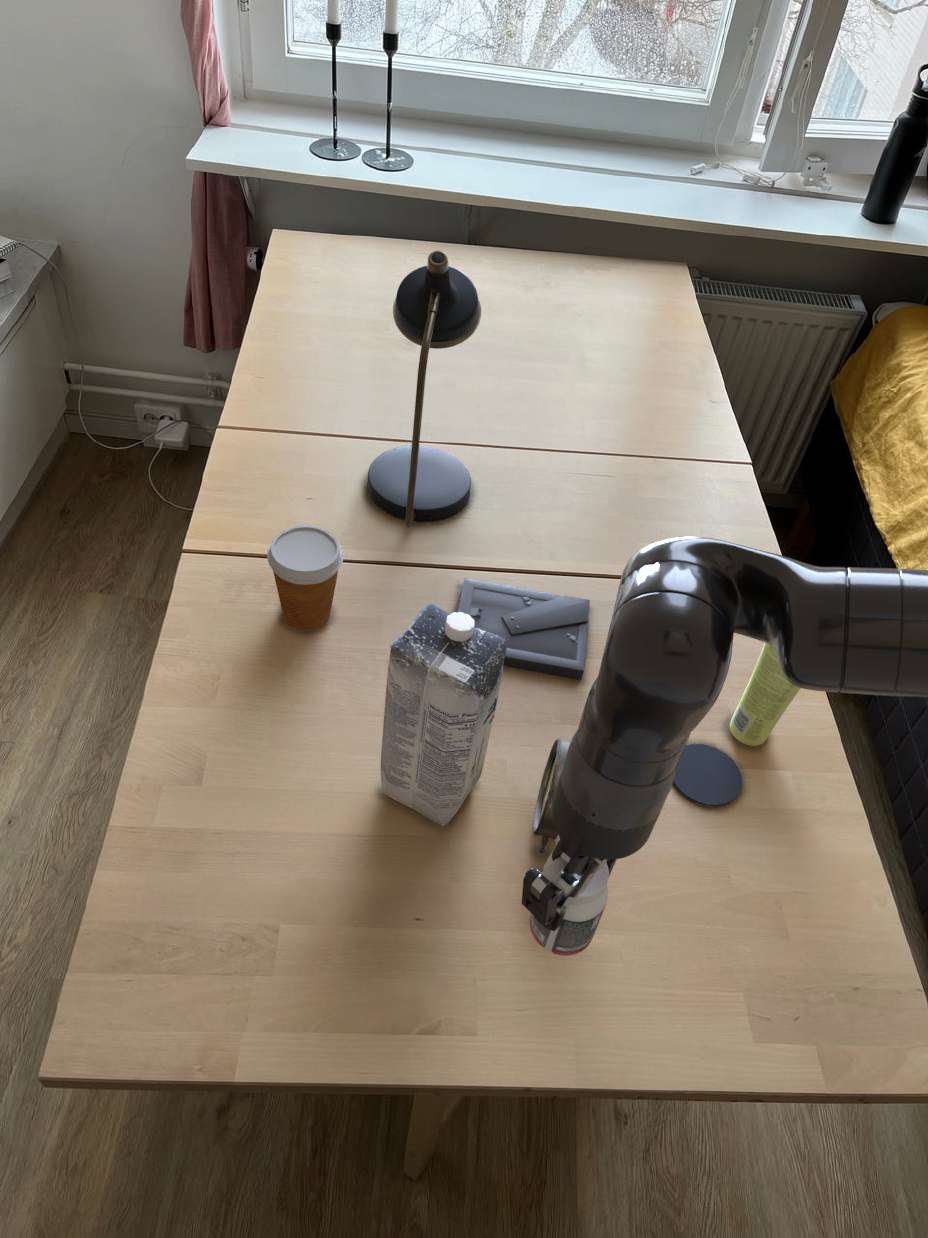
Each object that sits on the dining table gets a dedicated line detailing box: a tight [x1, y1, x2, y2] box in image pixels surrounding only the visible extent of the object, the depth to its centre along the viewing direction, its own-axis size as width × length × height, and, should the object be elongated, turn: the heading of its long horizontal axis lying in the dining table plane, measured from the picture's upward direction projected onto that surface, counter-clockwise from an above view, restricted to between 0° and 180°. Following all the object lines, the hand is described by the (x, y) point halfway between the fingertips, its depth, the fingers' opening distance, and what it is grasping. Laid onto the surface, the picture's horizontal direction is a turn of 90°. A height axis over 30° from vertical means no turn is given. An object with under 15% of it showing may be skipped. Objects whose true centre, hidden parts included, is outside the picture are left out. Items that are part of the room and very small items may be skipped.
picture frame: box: [456, 577, 591, 681], centre depth 131 cm, size 13×2×18 cm
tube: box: [729, 642, 802, 747], centre depth 117 cm, size 6×5×20 cm
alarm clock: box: [532, 737, 571, 854], centre depth 106 cm, size 11×5×16 cm, turn 168°
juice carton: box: [380, 603, 507, 827], centre depth 103 cm, size 9×10×27 cm
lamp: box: [366, 250, 482, 529], centre depth 136 cm, size 16×22×38 cm
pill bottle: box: [528, 863, 610, 957], centre depth 81 cm, size 6×6×10 cm
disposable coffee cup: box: [266, 524, 344, 631], centre depth 126 cm, size 10×10×12 cm
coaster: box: [672, 743, 743, 808], centre depth 118 cm, size 9×9×1 cm
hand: (571, 896), depth 80 cm, fingers closed on pill bottle, 5 cm apart
